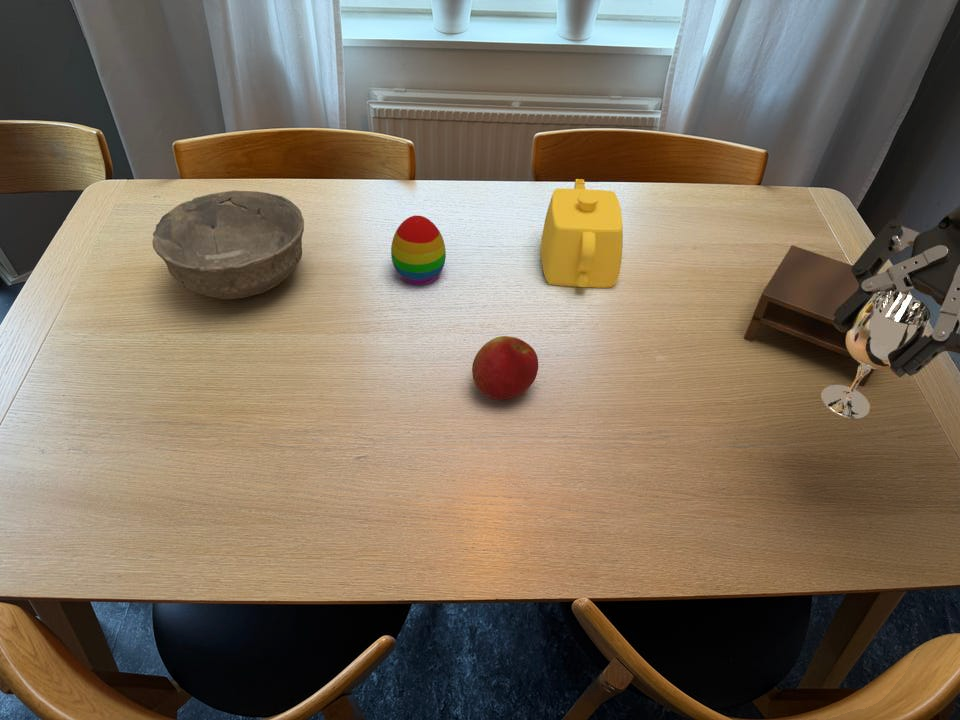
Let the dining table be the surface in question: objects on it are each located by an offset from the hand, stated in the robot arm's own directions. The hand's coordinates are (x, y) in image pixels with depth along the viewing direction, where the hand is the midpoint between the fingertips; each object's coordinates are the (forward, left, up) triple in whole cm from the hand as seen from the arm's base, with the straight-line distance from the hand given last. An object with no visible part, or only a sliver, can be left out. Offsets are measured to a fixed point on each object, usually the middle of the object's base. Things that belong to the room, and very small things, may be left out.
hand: (865, 348), depth 59 cm
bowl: (+78, +9, -22) cm, 82 cm away
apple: (+34, +5, -22) cm, 41 cm away
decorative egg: (+58, -8, -22) cm, 63 cm away
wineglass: (-1, -2, -8) cm, 8 cm away
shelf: (+4, -30, -22) cm, 37 cm away
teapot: (+40, -26, -22) cm, 52 cm away
